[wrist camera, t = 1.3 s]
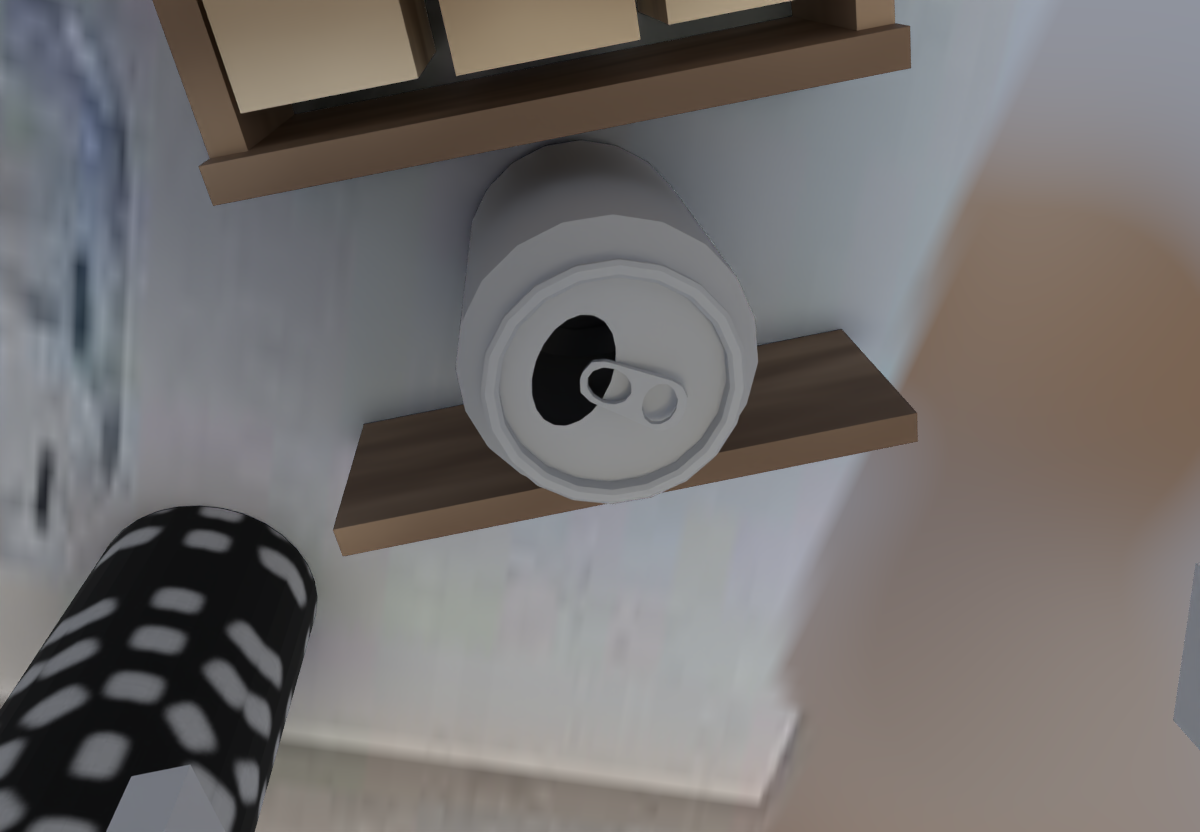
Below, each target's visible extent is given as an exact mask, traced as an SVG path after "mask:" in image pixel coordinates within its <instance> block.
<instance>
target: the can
mask: <svg viewBox="0 0 1200 832" xmlns="http://www.w3.org/2000/svg"><path fill="white" fill-rule="evenodd" d="M757 364H758V353H757V338H756V323H755V317H754V315H753V312H752V310H751V308H750V306H749V303H748V301H747V299H746V296H745V294H744V292H743V289H742V287H741V285H740V283H739V280H738V278H737V277H736V275H735V274H734V272H733V271H732V270H731V268H730V267H729V265H728V264H727V263H726V261H725V260H724V259H723V257H722V256H721V254H720V253H719V252H718V250H717V249H716V247H715V246H714V245H713V243H712V242H711V241H710V239H709V238H708V236H707V235H706V234H705V232H704V231H703V229H702V228H701V227H700V225H699V224H698V223H697V221H696V220H695V218H694V217H693V216H692V214H691V213H690V212H689V210H688V209H687V207H686V206H685V205H684V203H683V202H682V200H681V199H680V198H679V196H678V195H677V194H676V192H675V191H674V189H673V188H672V187H671V186H670V185H669V184H668V183H667V182H666V181H665V180H664V178H663V177H662V176H661V175H660V174H659V173H658V172H657V171H656V170H655V169H654V168H653V167H652V166H651V165H650V163H648V162H646V161H644V160H643V159H641V158H639V157H637V156H635V155H633V154H631V153H630V152H628V151H626V150H624V149H622V148H620V147H618V146H614V145H608V144H602V143H596V142H590V141H584V140H579V141H572V142H566V143H560V144H554V145H547V146H544V147H542V148H540V149H538V150H536V151H534V152H532V153H531V154H529V155H527V156H525V157H523V158H521V159H519V160H517V161H515V162H513V163H512V164H511V165H510V166H509V167H508V168H507V169H506V170H505V171H504V172H503V173H502V174H501V175H500V176H499V177H498V178H497V179H496V181H495V182H494V183H493V184H492V185H491V186H490V187H489V188H488V189H487V191H486V193H485V195H484V197H483V199H482V201H481V203H480V205H479V208H478V210H477V212H476V214H475V216H474V218H473V220H472V226H471V235H470V243H469V251H468V260H467V269H466V278H465V287H464V296H463V305H462V314H461V323H460V332H459V341H458V350H457V359H456V373H457V377H458V381H459V386H460V390H461V394H462V399H463V403H464V407H465V411H466V413H467V414H468V416H469V418H470V419H471V421H472V422H473V424H474V425H475V427H476V429H477V430H478V432H479V433H480V435H481V437H482V438H483V440H484V441H485V443H486V444H487V446H488V447H489V448H490V449H491V450H492V451H493V452H495V453H496V454H497V455H498V456H500V457H501V458H502V459H503V460H504V461H506V462H507V463H508V464H509V465H511V466H512V467H513V468H514V469H515V470H517V471H518V472H519V473H520V474H522V475H524V476H526V477H528V478H529V479H530V480H531V481H532V482H534V483H535V484H536V485H537V486H539V487H542V488H544V489H547V490H549V491H552V492H554V493H557V494H559V495H562V496H564V497H567V498H569V499H572V500H577V501H587V502H596V503H606V504H616V503H622V502H628V501H633V500H639V499H645V498H651V497H653V496H655V495H657V494H660V493H662V492H664V491H666V490H668V489H670V488H673V487H675V486H677V485H679V484H681V483H683V482H686V481H687V480H688V479H690V478H691V477H692V476H693V475H694V474H695V473H697V472H698V471H699V470H700V469H701V468H702V467H704V466H705V465H706V464H707V463H708V462H709V461H711V460H712V459H713V458H714V457H715V456H716V455H717V454H718V452H719V451H720V449H721V448H722V446H723V445H724V443H725V441H726V440H727V438H728V437H729V435H730V434H731V432H732V431H733V429H734V428H735V426H736V425H737V422H738V419H739V415H740V414H741V412H742V411H743V409H744V408H745V406H746V404H747V401H748V398H749V394H750V390H751V387H752V383H753V379H754V375H755V372H756V368H757Z"/></svg>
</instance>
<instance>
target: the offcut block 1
mask: <svg viewBox="0 0 1200 832" xmlns="http://www.w3.org/2000/svg"><path fill="white" fill-rule="evenodd" d="M202 1H203V4H204V7H205V10H206V13H207V16H208V19H209V22H210V25H211V28H212V31H213V33H214V36H215V39H216V42H217V45H218V48H219V51H220V54H221V57H222V60H223V63H224V66H225V69H226V72H227V75H228V78H229V81H230V83H231V86H232V89H233V92H234V95H235V98H236V101H237V104H238V107H239V110H240V113H246V112H251V111H256V110H261V109H266V108H271V107H276V106H281V105H286V104H292V103H297V102H302V101H307V100H312V99H317V98H322V97H327V96H332V95H337V94H342V93H347V92H352V91H358V90H363V89H368V88H373V87H378V86H383V85H388V84H393V83H398V82H403V81H408V80H413V79H418V78H419V77H420V75H421V74H422V72H423V71H424V69H425V68H426V66H427V65H428V63H429V62H430V60H431V59H432V57H433V56H434V54H435V53H436V48H435V44H434V40H433V36H432V31H431V27H430V23H429V19H428V15H427V11H426V6H425V2H424V0H202Z"/></svg>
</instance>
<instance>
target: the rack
mask: <svg viewBox="0 0 1200 832" xmlns="http://www.w3.org/2000/svg"><path fill="white" fill-rule="evenodd" d="M153 3H154V6H155V9H156V11H157V14H158V17H159V20H160V22H161V25H162V28H163V31H164V34H165V36H166V39H167V42H168V45H169V47H170V50H171V53H172V56H173V58H174V61H175V64H176V67H177V69H178V72H179V75H180V78H181V80H182V83H183V86H184V89H185V91H186V94H187V97H188V100H189V102H190V105H191V108H192V111H193V113H194V116H195V119H196V122H197V124H198V127H199V130H200V133H201V135H202V138H203V141H204V144H205V146H206V149H207V152H208V155H209V157H210V159H208V160H207V161H206V162H204V163H203V164H201V165H200V166H199V169H200V172H201V174H202V177H203V180H204V183H205V185H206V188H207V191H208V193H209V196H210V199H211V201H212V204H213V206H215V205H220V204H225V203H231V202H236V201H241V200H246V199H251V198H256V197H261V196H266V195H271V194H276V193H281V192H286V191H291V190H296V189H301V188H306V187H311V186H317V185H322V184H327V183H332V182H337V181H342V180H347V179H352V178H357V177H362V176H367V175H372V174H377V173H382V172H387V171H392V170H397V169H403V168H408V167H413V166H418V165H423V164H428V163H433V162H438V161H443V160H448V159H453V158H458V157H463V156H468V155H473V154H478V153H483V152H489V151H494V150H499V149H504V148H509V147H514V146H519V145H524V144H529V143H534V142H539V141H544V140H549V139H554V138H559V137H564V136H569V135H575V134H580V133H585V132H590V131H595V130H600V129H605V128H610V127H615V126H620V125H625V124H630V123H635V122H640V121H645V120H650V119H655V118H661V117H666V116H671V115H676V114H681V113H686V112H691V111H696V110H701V109H706V108H711V107H716V106H721V105H726V104H731V103H736V102H742V101H747V100H752V99H757V98H762V97H767V96H772V95H777V94H782V93H787V92H792V91H797V90H802V89H807V88H812V87H817V86H822V85H828V84H833V83H838V82H843V81H848V80H853V79H858V78H863V77H868V76H873V75H878V74H883V73H888V72H893V71H898V70H903V69H908V68H911V48H910V26H907V25H902V24H896V23H895V5H894V0H792V1H791V5H792V16H791V17H786V18H781V19H776V20H771V21H766V22H761V23H756V24H751V25H745V26H740V27H735V28H730V29H725V30H720V31H715V32H710V33H705V34H700V35H695V36H690V37H685V38H680V39H674V40H669V41H664V42H659V43H654V44H649V45H644V46H639V47H634V48H629V49H624V50H619V51H614V52H609V53H603V54H598V55H593V56H588V57H583V58H578V59H573V60H568V61H563V62H558V63H553V64H548V65H543V66H538V67H532V68H527V69H522V70H517V71H512V72H507V73H502V74H497V75H492V76H487V77H482V78H477V79H472V80H467V81H461V82H456V83H451V84H446V85H441V86H436V87H431V88H426V89H421V90H416V91H411V92H406V93H401V94H396V95H390V96H385V97H380V98H375V99H370V100H365V101H360V102H355V103H350V104H345V105H340V106H335V107H330V108H325V109H319V110H314V111H309V112H304V113H299V114H294V111H293V108H292V105H291V104H286V105H281V106H276V107H271V108H266V109H261V110H256V111H251V112H246V113H240V110H239V107H238V104H237V101H236V98H235V95H234V92H233V89H232V86H231V83H230V81H229V78H228V75H227V72H226V69H225V66H224V63H223V60H222V57H221V54H220V51H219V48H218V45H217V42H216V39H215V36H214V33H213V31H212V28H211V25H210V22H209V19H208V16H207V13H206V10H205V7H204V4H203V1H202V0H153ZM757 353H758V364H757V368H756V372H755V375H754V379H753V383H752V387H751V390H750V394H749V398H748V401H747V404H746V406H745V408H744V409H743V411H742V412H741V414H740V415H739V419H738V422H737V425H736V426H735V428H734V429H733V431H732V432H731V434H730V435H729V437H728V438H727V440H726V441H725V443H724V445H723V446H722V448H721V449H720V451H719V452H718V454H717V455H716V456H715V457H714V458H713V459H712V460H711V461H709V462H708V463H707V464H706V465H705V466H704V467H702V468H701V469H700V470H699V471H698V472H697V473H695V474H694V475H693V476H692V477H691V478H690V479H688V480H687V481H686V482H683V483H681V484H679V485H677V486H675V487H673V488H670V489H668V490H666V491H664V492H668V491H673V490H678V489H683V488H688V487H693V486H698V485H703V484H708V483H713V482H718V481H723V480H728V479H733V478H738V477H743V476H748V475H753V474H758V473H763V472H768V471H773V470H778V469H783V468H788V467H793V466H798V465H803V464H808V463H813V462H818V461H823V460H828V459H833V458H838V457H843V456H848V455H853V454H858V453H863V452H868V451H872V450H878V449H883V448H888V447H893V446H898V445H903V444H907V443H913V442H917V441H918V435H917V413H916V411H915V410H914V409H913V408H912V407H911V406H910V405H909V403H908V402H907V401H906V400H905V399H904V398H903V397H902V396H901V395H900V393H899V392H898V391H897V390H896V389H895V388H894V387H893V386H892V385H891V383H890V382H889V381H888V380H887V379H886V378H885V377H884V376H883V375H882V373H881V372H880V371H879V370H878V369H877V368H876V367H875V366H874V364H873V363H872V362H871V361H870V360H869V359H868V358H867V357H866V356H865V354H864V353H863V352H862V351H861V350H860V349H859V348H858V347H857V346H856V344H855V343H854V342H853V341H852V340H851V339H850V338H849V337H848V336H847V334H846V333H845V332H844V331H843V330H842V329H840V330H835V331H830V332H825V333H820V334H815V335H810V336H805V337H800V338H795V339H790V340H785V341H780V342H775V343H770V344H765V345H760V346H757ZM662 493H663V492H662ZM603 504H606V503H596V502H587V501H577V500H572V499H569V498H567V497H564V496H562V495H559V494H557V493H554V492H552V491H549V490H547V489H544V488H542V487H539V486H537V485H536V484H535V483H534V482H532V481H531V480H530V479H529V478H528V477H526V476H524V475H522V474H520V473H519V472H518V471H517V470H515V469H514V468H513V467H512V466H511V465H509V464H508V463H507V462H506V461H504V460H503V459H502V458H501V457H500V456H498V455H497V454H496V453H495V452H493V451H492V450H491V449H490V448H489V447H488V446H487V444H486V443H485V441H484V440H483V438H482V437H481V435H480V433H479V432H478V430H477V429H476V427H475V425H474V424H473V422H472V421H471V419H470V418H469V416H468V414H467V413H466V411H465V407H464V405H459V406H454V407H449V408H444V409H439V410H434V411H429V412H424V413H419V414H414V415H409V416H404V417H398V418H393V419H388V420H383V421H378V422H373V423H368V424H364V425H363V429H362V432H361V436H360V439H359V442H358V446H357V449H356V453H355V456H354V460H353V463H352V466H351V470H350V473H349V477H348V480H347V484H346V487H345V490H344V494H343V497H342V501H341V504H340V508H339V511H338V514H337V518H336V521H335V525H334V528H333V531H334V534H335V536H336V539H337V542H338V545H339V547H340V550H341V553H342V555H343V556H348V555H353V554H358V553H363V552H368V551H373V550H378V549H383V548H388V547H393V546H398V545H403V544H408V543H413V542H418V541H423V540H428V539H433V538H438V537H443V536H448V535H453V534H458V533H463V532H468V531H473V530H478V529H483V528H488V527H493V526H498V525H503V524H508V523H513V522H518V521H523V520H528V519H533V518H538V517H543V516H548V515H553V514H558V513H563V512H568V511H573V510H578V509H583V508H588V507H593V506H598V505H603Z"/></svg>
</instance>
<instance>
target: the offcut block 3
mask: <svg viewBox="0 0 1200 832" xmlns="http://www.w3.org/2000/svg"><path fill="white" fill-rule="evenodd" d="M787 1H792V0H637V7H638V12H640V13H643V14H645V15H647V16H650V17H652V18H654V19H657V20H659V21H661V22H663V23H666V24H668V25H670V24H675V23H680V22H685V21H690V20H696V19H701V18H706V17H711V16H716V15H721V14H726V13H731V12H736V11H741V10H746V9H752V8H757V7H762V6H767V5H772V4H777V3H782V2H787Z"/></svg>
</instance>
